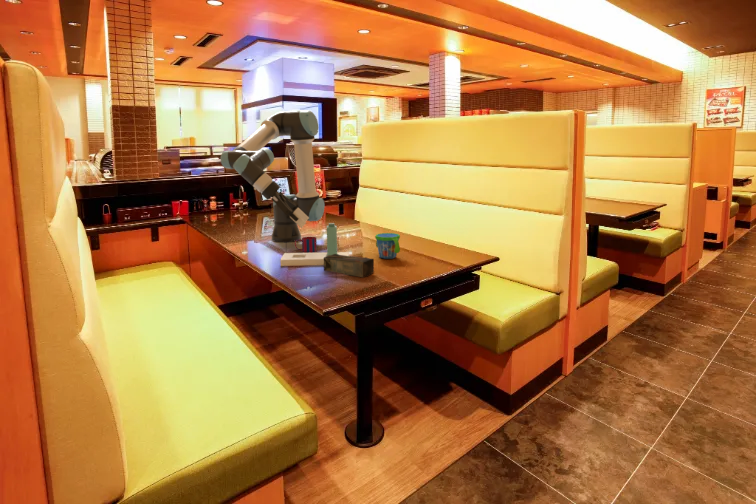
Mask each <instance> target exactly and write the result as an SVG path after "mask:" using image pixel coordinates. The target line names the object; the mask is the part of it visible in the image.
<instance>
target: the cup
mask: <svg viewBox="0 0 756 504" xmlns="http://www.w3.org/2000/svg"><path fill="white" fill-rule="evenodd" d="M298 241H299V242H301V248H298V247H297V242H298ZM317 246H318V244H317V237H316V236H303V237H301V239H298V240H296V241H294V247H295V249H296V250H298V251H302V252H301V253H317V251H318V247H317Z"/></svg>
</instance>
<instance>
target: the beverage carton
mask: <svg viewBox="0 0 756 504" xmlns="http://www.w3.org/2000/svg"><path fill="white" fill-rule="evenodd" d="M374 261H375V259H374V258H370V257H369V258H368V257H366V256H365V257H361V256H360V257H359V256H351V255H349V256H345V255H337V254H333V255H328V256H327V257H324V265H323V271H325V272H326V271H328V272H332V273H338V274H342V275H344V276H350V277H351V276H352V277H359V278H365V277H368V276H371V275H373V274H374V272H375V271H374V270H375V266H374V265H375V262H374Z"/></svg>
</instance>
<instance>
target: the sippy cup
mask: <svg viewBox="0 0 756 504" xmlns="http://www.w3.org/2000/svg"><path fill="white" fill-rule="evenodd" d="M374 238H375V239H376V241H375V245H376V247H377V252H378V256H379V258H380V259H384V260H392V259H395V258H397V254H399V253H400V250H401V247H400V241H399V240H400V238H401V235H400V234H399V233H394V232H383V233H377V234H376V235H375V236H374Z"/></svg>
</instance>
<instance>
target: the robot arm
mask: <svg viewBox="0 0 756 504" xmlns="http://www.w3.org/2000/svg"><path fill="white" fill-rule="evenodd" d="M318 132H319V122H318V119H317V116H316V114H314V112H313V111H311V110H303V109H301V110H282V111H278V112H276V113H274V114H272V115H270V116H269V117H267V118H266V119H264V120H263V121H262V122H261V123H260V126H259V128H257V129H256V130H255V131H254V132H253V133H251V134H250V135H249V136H248V137H246V139H244V140H243V141H242V142H241V143H239V145H237V146H236V147H235V148H233V149H232V150H225V151H223V152H222V153H221V154H220V163H221V166H222V167H224V169H229V170H235V171H236V172H237V173H238V175H240V176H241V177H242V178H243V179H244V180H246V182H248V183H249V184H250V185H251V187H253V190H254V191H257V192H259V193H261V195H262V196H263V197H264V198H265V199H266V200H270V199H271V200H272V201H273V202H272V207H273V222H274V223H273V224H274V226H273V228H272V229H273V230H272V233H271V241H272V242H278V243H289V242H295V241H296V240H298V239H300V240H302V235H301V231H300V229H299V227H300V228H301V229H302V228H303V227H304V226H305V225H306V224H307V222H317V221H320V220H321V219H322V217H323V215H324V213H325V206H326V205H325V200H324V199H323V198H321V197H320V193H319V192H318V191H317V188H316V179H315V178H316V177H315V165H314V163H315V162H314V155H313V141H314V140H315V136H317V135H318ZM283 136H284V137H285V136H287V137H290V141H291V142H292V143H293V145H294V156H295V157H294V158H295V167H296V176H297V177H296V179H297V189H298V192H297V193H296V194H284V193H283V192H282V191H279V190H280V188H281V186H280V185H279V184H278V183H277V182H276V181H274V180H273V178H272V177H271V176H270V175H269V174H267V172H265V171H264V170H266V169H267V168H269V167H270V166H271V164H272V163H273V162H274V160H275V156H274V153H273V152H272V150H271V149H270V148H267V147H265V146H266V145H267V144H269V143H270V142H271V141H272V140H276V139H277V138H279V137H283ZM298 241H299V240H298Z"/></svg>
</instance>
